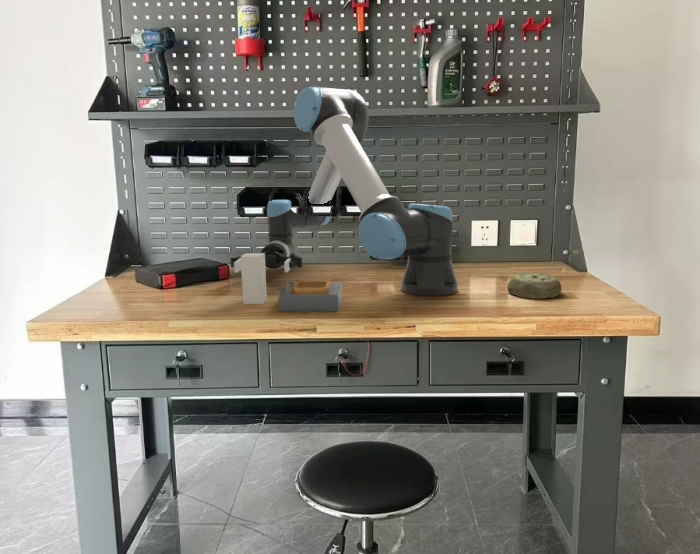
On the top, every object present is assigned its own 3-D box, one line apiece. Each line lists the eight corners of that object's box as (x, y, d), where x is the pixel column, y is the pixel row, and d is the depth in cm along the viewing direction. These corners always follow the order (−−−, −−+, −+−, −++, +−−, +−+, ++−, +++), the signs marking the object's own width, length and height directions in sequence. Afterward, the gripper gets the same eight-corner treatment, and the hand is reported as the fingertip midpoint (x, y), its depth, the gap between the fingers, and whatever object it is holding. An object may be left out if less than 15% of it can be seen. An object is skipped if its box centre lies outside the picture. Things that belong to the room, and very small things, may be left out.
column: (266, 299, 154) (264, 253, 152) (262, 303, 149) (260, 256, 147) (247, 299, 155) (245, 253, 152) (243, 303, 150) (240, 256, 147)
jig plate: (342, 297, 155) (342, 278, 154) (338, 311, 141) (337, 290, 140) (288, 297, 155) (288, 278, 154) (279, 311, 142) (278, 290, 141)
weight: (563, 301, 148) (564, 282, 147) (507, 299, 152) (508, 279, 151) (558, 289, 161) (559, 271, 160) (507, 287, 165) (507, 270, 164)
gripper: (316, 266, 181) (307, 281, 160) (235, 266, 182) (215, 281, 161) (315, 242, 179) (306, 253, 158) (233, 242, 181) (213, 253, 160)
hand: (260, 267), depth 160 cm, fingers open, 13 cm apart
